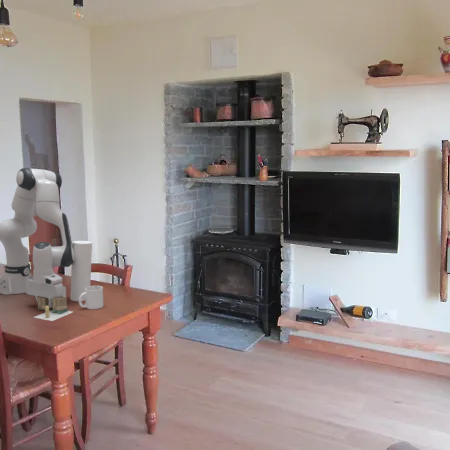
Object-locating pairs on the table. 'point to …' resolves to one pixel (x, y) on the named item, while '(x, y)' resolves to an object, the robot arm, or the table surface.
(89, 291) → the mug
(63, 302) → the sleeve seated
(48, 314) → the pin board
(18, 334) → the table surface
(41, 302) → the sleeve
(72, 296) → the cylinder container
